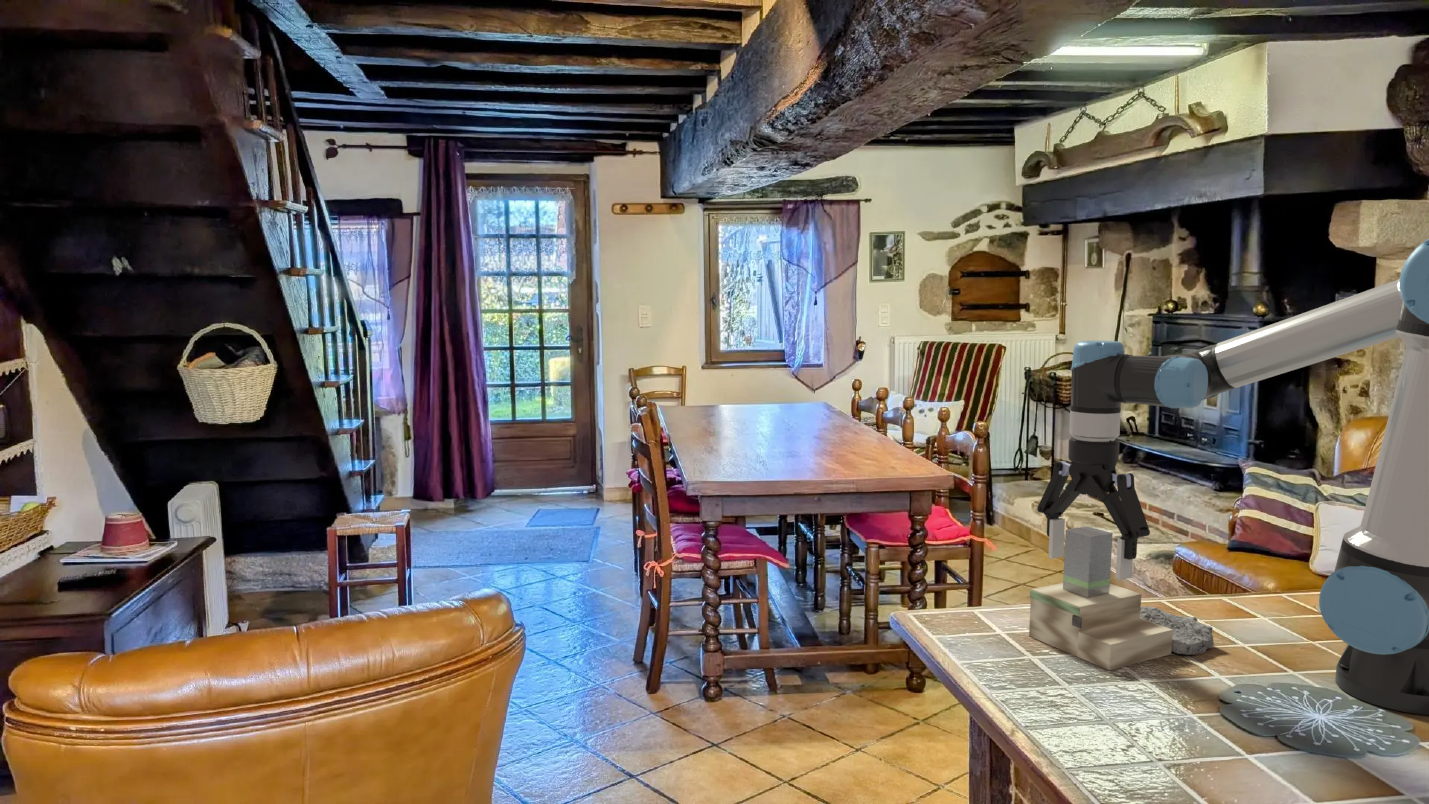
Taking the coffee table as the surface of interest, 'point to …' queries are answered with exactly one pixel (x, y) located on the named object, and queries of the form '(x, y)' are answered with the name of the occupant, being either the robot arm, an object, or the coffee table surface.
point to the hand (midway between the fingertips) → (1088, 567)
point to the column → (1087, 561)
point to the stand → (1097, 626)
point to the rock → (1181, 631)
